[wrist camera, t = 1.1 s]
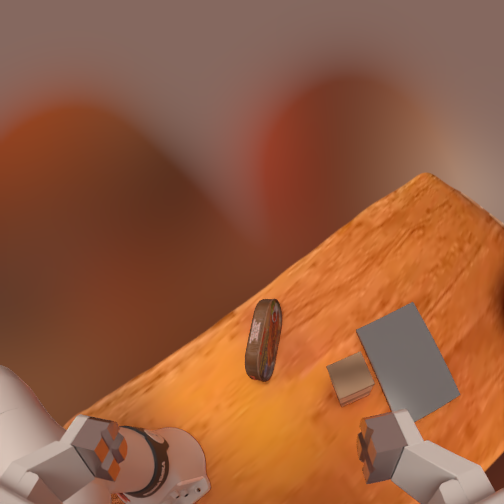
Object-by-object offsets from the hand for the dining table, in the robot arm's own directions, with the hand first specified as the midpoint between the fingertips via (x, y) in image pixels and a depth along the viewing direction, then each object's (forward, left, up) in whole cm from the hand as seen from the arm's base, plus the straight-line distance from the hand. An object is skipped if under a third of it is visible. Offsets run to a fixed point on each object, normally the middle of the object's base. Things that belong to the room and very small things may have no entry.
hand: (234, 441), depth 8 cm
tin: (+10, +18, -45) cm, 49 cm away
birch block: (+9, +1, -44) cm, 45 cm away
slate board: (+17, -7, -44) cm, 48 cm away
